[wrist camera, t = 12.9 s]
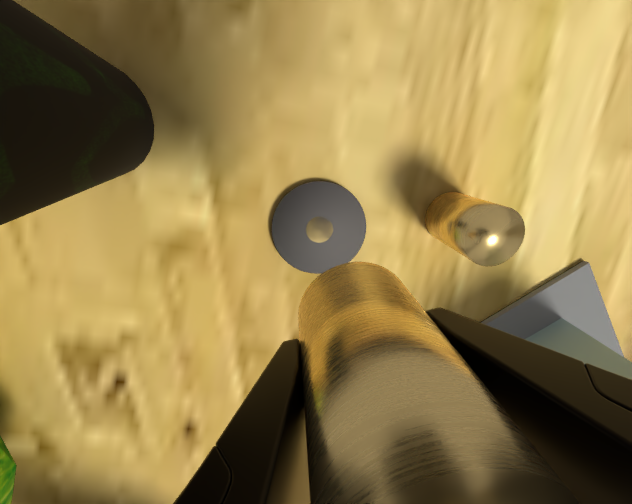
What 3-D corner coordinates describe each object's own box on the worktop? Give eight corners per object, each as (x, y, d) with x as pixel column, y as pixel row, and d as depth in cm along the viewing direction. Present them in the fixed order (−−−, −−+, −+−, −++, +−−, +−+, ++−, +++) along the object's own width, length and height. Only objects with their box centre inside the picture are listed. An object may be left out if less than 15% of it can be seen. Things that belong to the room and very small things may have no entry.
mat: (493, 446, 26) (496, 450, 26) (430, 352, 23) (432, 356, 22) (626, 374, 25) (631, 377, 25) (583, 260, 21) (589, 262, 21)
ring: (284, 279, 20) (283, 281, 19) (261, 192, 18) (261, 193, 18) (370, 261, 20) (371, 262, 20) (357, 171, 18) (358, 172, 18)
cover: (515, 410, 25) (645, 562, 16) (486, 361, 23) (615, 502, 14) (585, 372, 24) (762, 507, 15) (561, 317, 22) (747, 436, 13)
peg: (310, 370, 10) (341, 663, 4) (287, 275, 9) (287, 511, 3) (413, 347, 10) (573, 608, 4) (403, 250, 9) (603, 439, 3)
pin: (427, 244, 20) (465, 271, 16) (423, 197, 19) (463, 213, 15) (473, 234, 20) (523, 259, 16) (472, 187, 19) (525, 200, 15)
